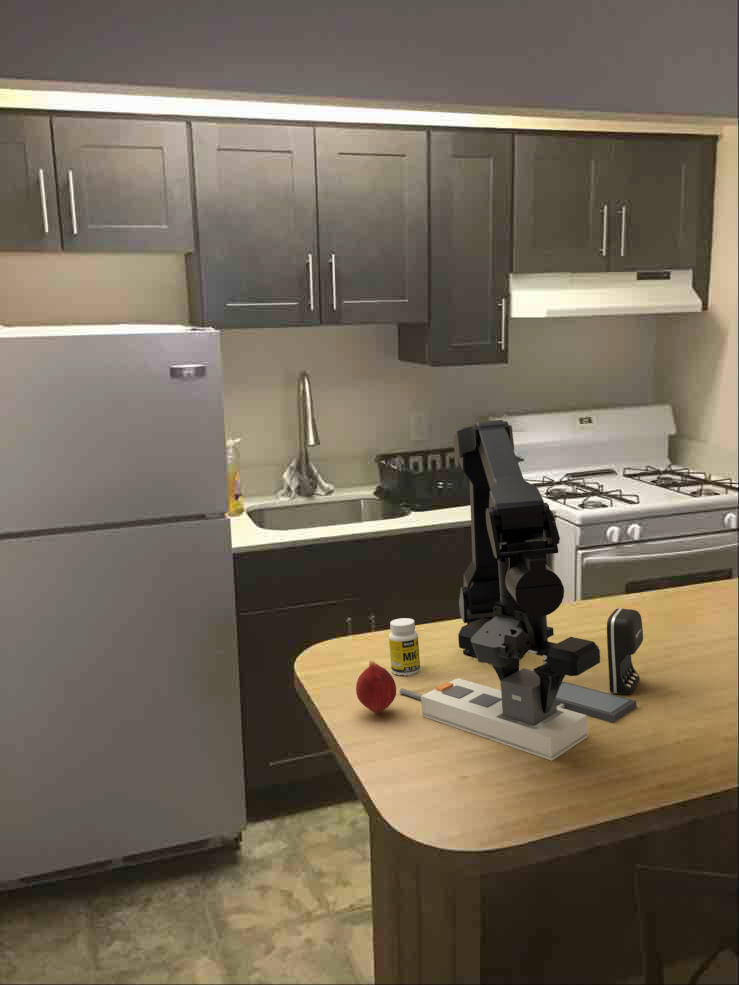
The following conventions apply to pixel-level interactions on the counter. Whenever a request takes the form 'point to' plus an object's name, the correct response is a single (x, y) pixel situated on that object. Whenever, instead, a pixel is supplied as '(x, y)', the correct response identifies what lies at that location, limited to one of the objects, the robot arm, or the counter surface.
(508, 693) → the charger cube
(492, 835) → the counter surface
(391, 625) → the supplement bottle
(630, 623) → the battery charger
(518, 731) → the power strip
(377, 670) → the onion
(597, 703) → the phone
